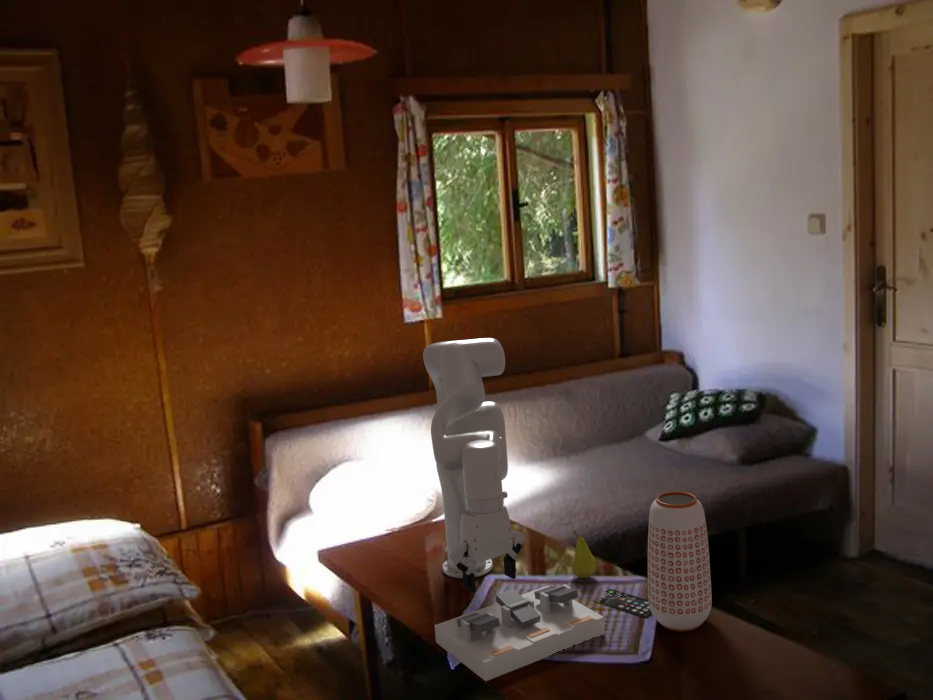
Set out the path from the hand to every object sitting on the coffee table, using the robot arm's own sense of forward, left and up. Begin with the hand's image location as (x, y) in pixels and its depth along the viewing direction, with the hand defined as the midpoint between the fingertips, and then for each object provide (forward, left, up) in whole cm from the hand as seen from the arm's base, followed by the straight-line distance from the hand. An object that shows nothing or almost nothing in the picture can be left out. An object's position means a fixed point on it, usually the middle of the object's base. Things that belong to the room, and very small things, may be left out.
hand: (490, 583), depth 199 cm
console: (-5, +9, -17) cm, 20 cm away
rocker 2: (-5, +9, -10) cm, 15 cm away
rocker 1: (-5, -1, -10) cm, 11 cm away
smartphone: (-3, +37, -18) cm, 41 cm away
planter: (+11, +40, -17) cm, 45 cm away
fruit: (-20, +38, -17) cm, 46 cm away
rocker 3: (-5, +19, -10) cm, 22 cm away
